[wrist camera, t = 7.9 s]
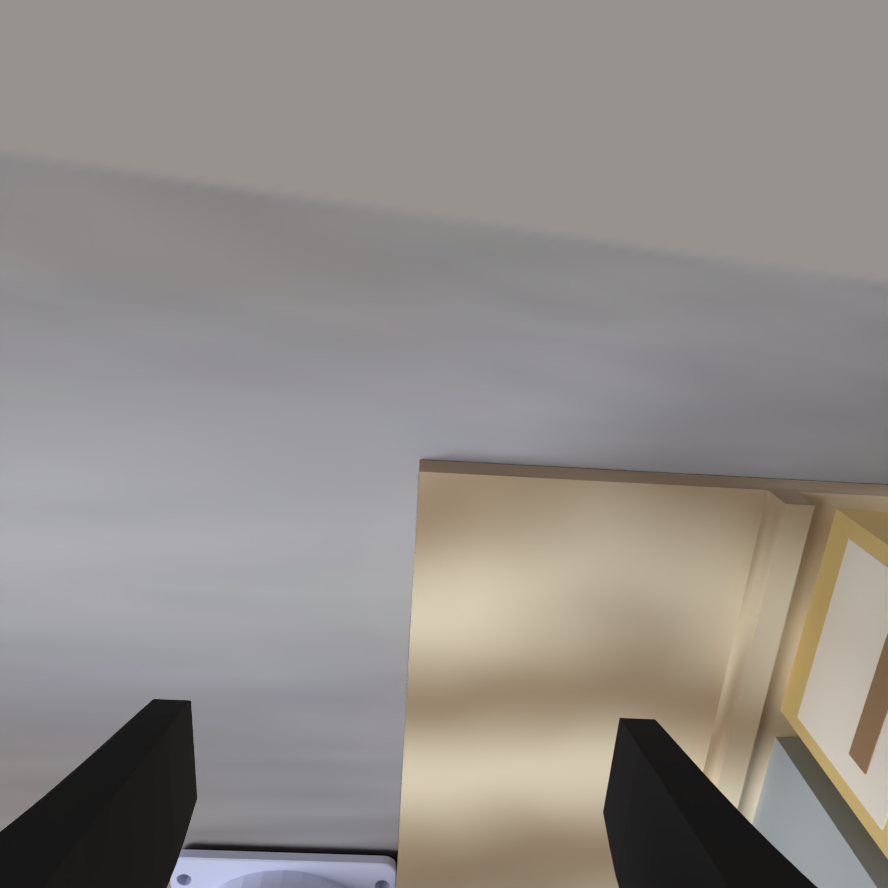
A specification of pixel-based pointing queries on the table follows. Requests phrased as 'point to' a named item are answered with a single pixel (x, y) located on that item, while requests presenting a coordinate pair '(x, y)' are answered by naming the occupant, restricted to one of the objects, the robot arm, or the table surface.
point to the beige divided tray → (591, 651)
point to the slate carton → (815, 822)
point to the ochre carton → (848, 668)
